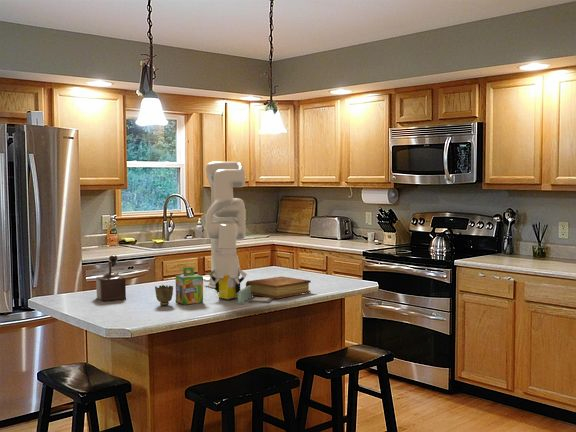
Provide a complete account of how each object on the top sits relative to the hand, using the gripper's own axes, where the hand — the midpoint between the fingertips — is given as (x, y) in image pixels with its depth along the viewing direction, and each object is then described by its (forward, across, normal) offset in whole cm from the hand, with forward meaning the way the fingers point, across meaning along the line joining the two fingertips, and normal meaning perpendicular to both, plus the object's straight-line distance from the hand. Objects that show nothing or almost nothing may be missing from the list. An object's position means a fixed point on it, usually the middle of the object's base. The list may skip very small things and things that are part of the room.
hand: (227, 292), depth 278 cm
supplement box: (+3, 0, 0) cm, 3 cm away
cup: (+3, -22, -18) cm, 29 cm away
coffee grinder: (+3, -52, -6) cm, 52 cm away
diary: (+3, +19, +16) cm, 25 cm away
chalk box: (+3, -14, -10) cm, 18 cm away
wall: (+3, +8, -2) cm, 9 cm away
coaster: (+3, +15, -1) cm, 15 cm away
